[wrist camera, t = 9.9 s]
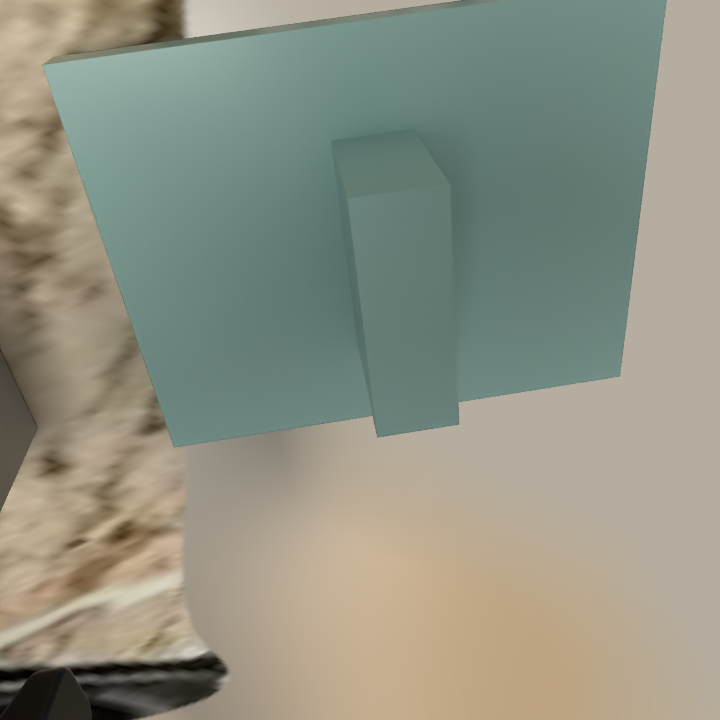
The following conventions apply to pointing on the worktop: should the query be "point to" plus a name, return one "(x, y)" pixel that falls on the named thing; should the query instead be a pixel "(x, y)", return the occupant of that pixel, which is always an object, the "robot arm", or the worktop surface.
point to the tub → (12, 430)
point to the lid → (371, 207)
